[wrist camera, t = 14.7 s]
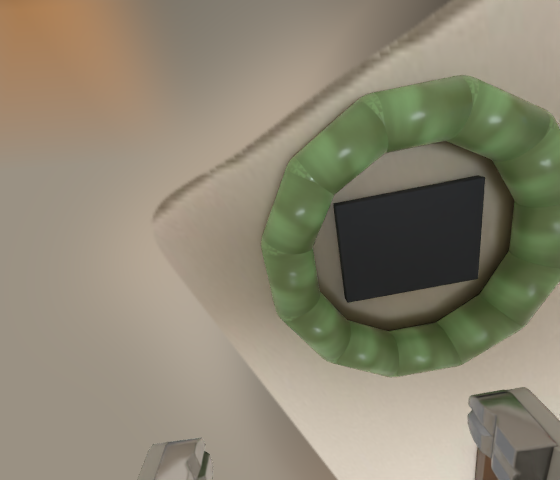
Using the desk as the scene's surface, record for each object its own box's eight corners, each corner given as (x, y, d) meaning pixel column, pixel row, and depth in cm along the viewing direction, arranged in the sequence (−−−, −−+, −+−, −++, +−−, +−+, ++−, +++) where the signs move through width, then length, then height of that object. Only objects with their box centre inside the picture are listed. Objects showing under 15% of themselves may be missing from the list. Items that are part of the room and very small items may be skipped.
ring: (571, 52, 16) (636, 37, 13) (529, 328, 23) (566, 357, 20) (235, 121, 16) (228, 121, 14) (291, 371, 23) (295, 404, 20)
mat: (478, 175, 18) (485, 177, 17) (472, 275, 21) (478, 279, 20) (333, 203, 18) (335, 205, 18) (344, 298, 21) (346, 303, 20)
